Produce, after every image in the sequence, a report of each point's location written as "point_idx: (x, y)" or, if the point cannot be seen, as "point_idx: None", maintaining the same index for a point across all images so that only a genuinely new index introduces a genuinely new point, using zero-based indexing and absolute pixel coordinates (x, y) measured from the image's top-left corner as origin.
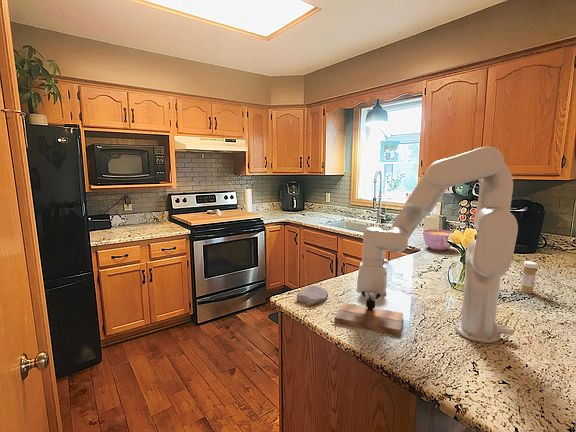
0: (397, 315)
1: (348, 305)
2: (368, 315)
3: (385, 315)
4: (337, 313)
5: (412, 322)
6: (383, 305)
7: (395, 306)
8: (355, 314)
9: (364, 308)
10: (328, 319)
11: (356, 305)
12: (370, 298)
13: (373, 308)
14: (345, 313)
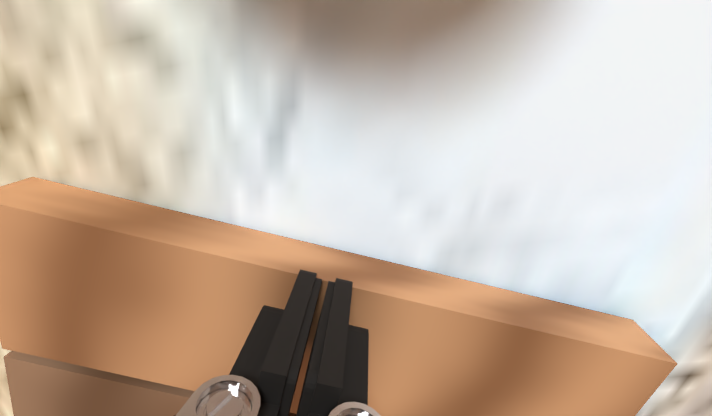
0: (586, 407)
1: (61, 256)
2: (295, 409)
3: (458, 412)
4: (19, 410)
5: (689, 365)
6: (530, 3)
7: (700, 8)
8: (175, 414)
9: (251, 305)
10: (6, 383)
11: (151, 248)
12: (283, 403)
13: (354, 297)
14: (85, 404)
